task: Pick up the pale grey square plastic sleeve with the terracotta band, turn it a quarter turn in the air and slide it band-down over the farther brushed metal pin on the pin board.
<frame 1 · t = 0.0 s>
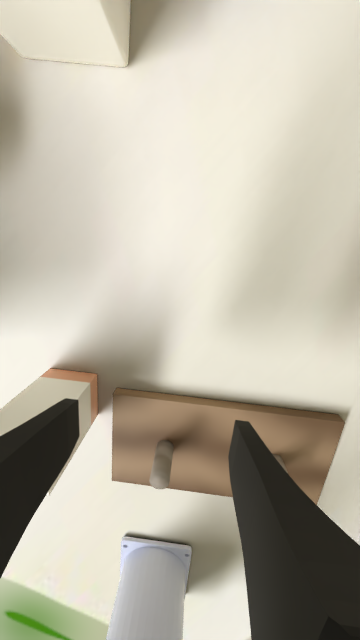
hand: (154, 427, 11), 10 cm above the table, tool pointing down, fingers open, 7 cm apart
sleeve: (74, 392, 23), on the table
pin board: (217, 445, 23), on the table
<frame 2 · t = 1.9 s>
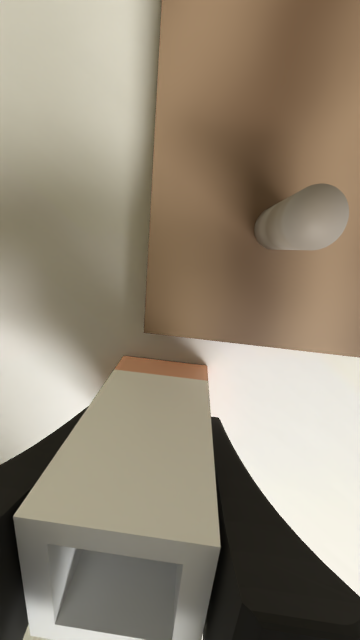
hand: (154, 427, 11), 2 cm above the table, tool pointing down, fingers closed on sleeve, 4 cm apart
sleeve: (161, 396, 13), on the table, touching gripper
pin board: (294, 88, 9), on the table
when the fingers open (5 cm above the table, at t = 5.7 s): sleeve drops 1 cm, resting on pin board.
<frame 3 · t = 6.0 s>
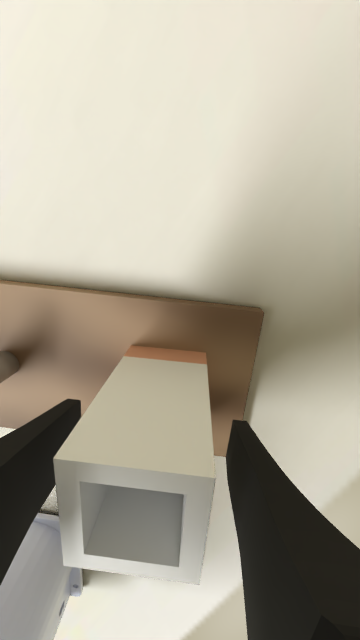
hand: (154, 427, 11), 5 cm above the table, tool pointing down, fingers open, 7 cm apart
sleeve: (166, 382, 15), point 1 cm above the table, touching pin board
pin board: (91, 365, 16), on the table
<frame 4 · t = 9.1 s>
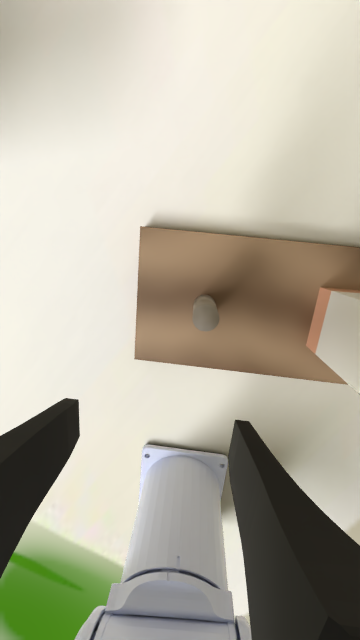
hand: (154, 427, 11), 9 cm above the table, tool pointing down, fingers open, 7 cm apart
sleeve: (344, 320, 17), point 1 cm above the table, touching pin board
pin board: (269, 309, 19), on the table
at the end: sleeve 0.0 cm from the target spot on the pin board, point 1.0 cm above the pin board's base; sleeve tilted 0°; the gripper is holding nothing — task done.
